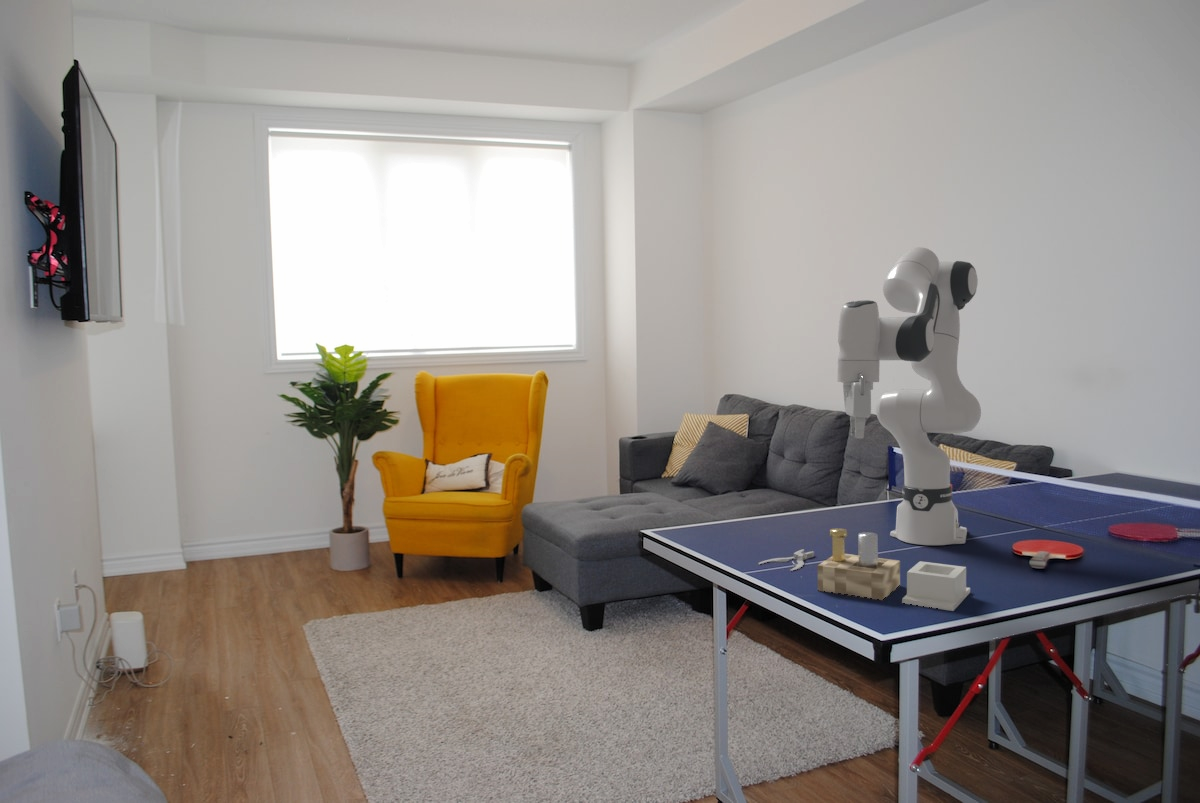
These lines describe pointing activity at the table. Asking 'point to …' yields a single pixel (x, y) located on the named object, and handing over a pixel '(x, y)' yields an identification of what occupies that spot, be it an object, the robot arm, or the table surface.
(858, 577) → the socket block
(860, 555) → the grey rounded cylinder
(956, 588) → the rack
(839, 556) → the key
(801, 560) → the pliers
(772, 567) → the table surface
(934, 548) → the table surface
